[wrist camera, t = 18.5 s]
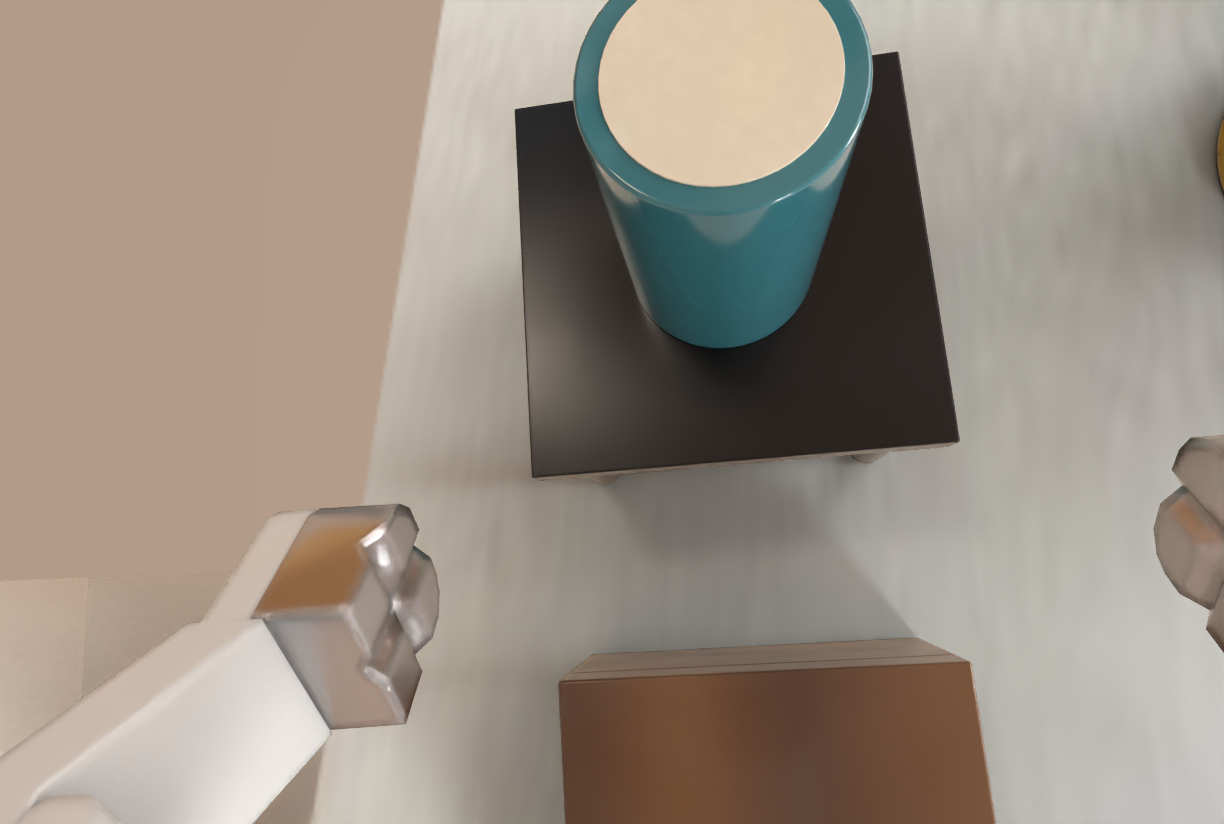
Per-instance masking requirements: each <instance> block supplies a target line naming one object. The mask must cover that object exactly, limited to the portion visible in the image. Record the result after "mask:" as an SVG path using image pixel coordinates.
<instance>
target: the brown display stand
mask: <svg viewBox="0 0 1224 824" xmlns="http://www.w3.org/2000/svg"><path fill="white" fill-rule="evenodd" d="M558 690H559V710H560V730H561V749H562V769H563V788H564V808H565V824H996V821H995V814H994V808H993V801H992V795H991V788H990V781H989V775H988V768H987V762H986V755H985V749H984V742H983V735H982V729H981V722H980V716H979V709H978V703H977V696H976V690H975V683H974V676H973V670H972V664H971V662H969V661H967V660H965V659H963V658H960V657H958V656H956V655H954V654H952V653H950V652H948V651H945V650H943V649H941V648H939V647H937V646H934V645H932V644H930V643H928V642H926V641H923V640H921V639H919V638H902V639H882V640H863V641H844V642H824V643H805V644H786V645H766V646H747V647H728V648H708V649H689V650H670V651H650V652H631V653H612V654H593V655H591V656H590V657H589V658H588V659H586V660H585V661H584V662H583V663H581V664H580V665H579V666H578V667H576V668H575V669H574V670H572V671H571V672H570V673H569V674H568V675H566V676H565V677H564V678H563V679H561V680H560V681H559V683H558Z"/></svg>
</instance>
